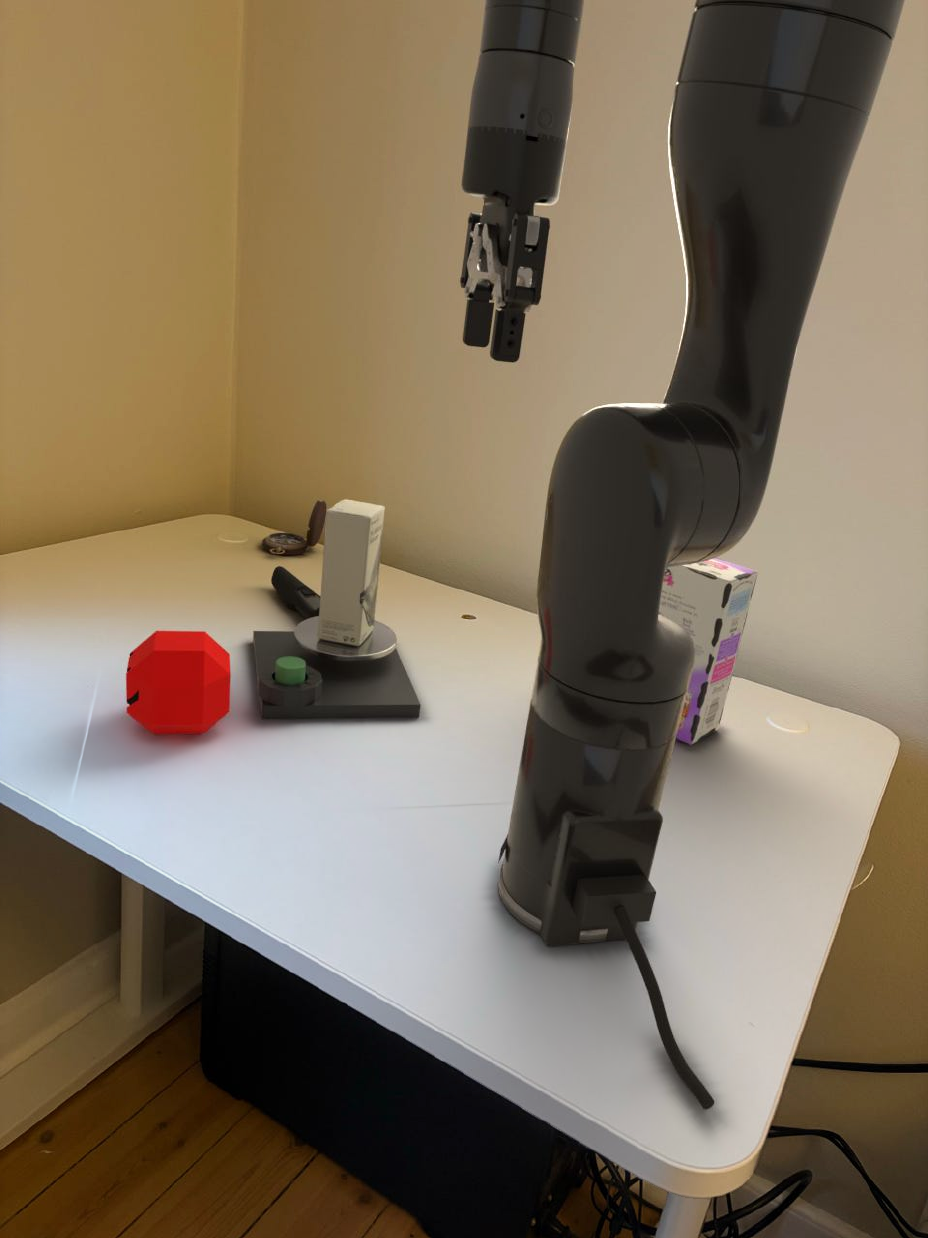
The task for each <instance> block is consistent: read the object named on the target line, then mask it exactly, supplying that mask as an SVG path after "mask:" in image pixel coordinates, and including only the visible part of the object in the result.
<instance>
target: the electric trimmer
mask: <svg viewBox="0 0 928 1238" xmlns="http://www.w3.org/2000/svg"><path fill="white" fill-rule="evenodd" d="M270 581H271V582H270V583H271V585H272V587H273V589H274V590H275V592H276V593H277V595H278V596H279V598H280V599H281V601H282V602H283V604H284V605H285V606H286V607H287V608H289V609H293V610H297V612H298V613H299V614H301V616H302V617H303V618H304V619H305V620H306V619H309V618H312V617H316V616H319V611H320V596H321V595H320V594H318V593H317V592H316V591H314V590H313V589H312V588H311V587H309V586H308V585H307V584H305V583H304V582H303V581H301V580H300V579H298V578H297V577H296V576H295V575H294V574H293V573H291V571H289V570H288V569H287V568H285V566H281V565H278V566H276V567H274V570H273V572H272V575H271V578H270Z"/></svg>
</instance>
